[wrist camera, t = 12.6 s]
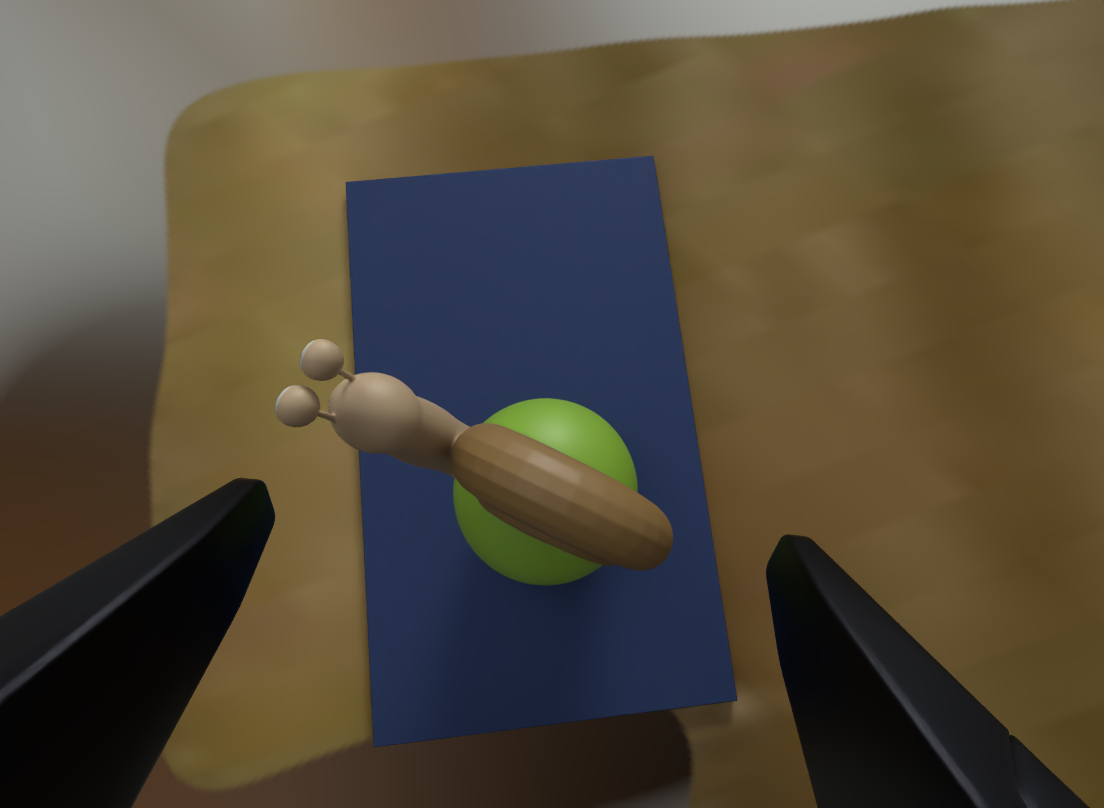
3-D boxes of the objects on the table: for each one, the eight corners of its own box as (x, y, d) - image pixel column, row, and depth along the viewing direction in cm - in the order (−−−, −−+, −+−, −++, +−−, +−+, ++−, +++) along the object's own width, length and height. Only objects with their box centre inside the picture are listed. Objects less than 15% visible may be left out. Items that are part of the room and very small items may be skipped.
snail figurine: (481, 378, 19) (378, 186, 7) (645, 448, 18) (835, 377, 7) (415, 518, 18) (165, 579, 6) (586, 595, 18) (681, 817, 6)
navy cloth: (734, 697, 17) (737, 700, 17) (376, 743, 17) (373, 747, 17) (651, 160, 21) (653, 155, 20) (348, 186, 20) (345, 181, 20)
